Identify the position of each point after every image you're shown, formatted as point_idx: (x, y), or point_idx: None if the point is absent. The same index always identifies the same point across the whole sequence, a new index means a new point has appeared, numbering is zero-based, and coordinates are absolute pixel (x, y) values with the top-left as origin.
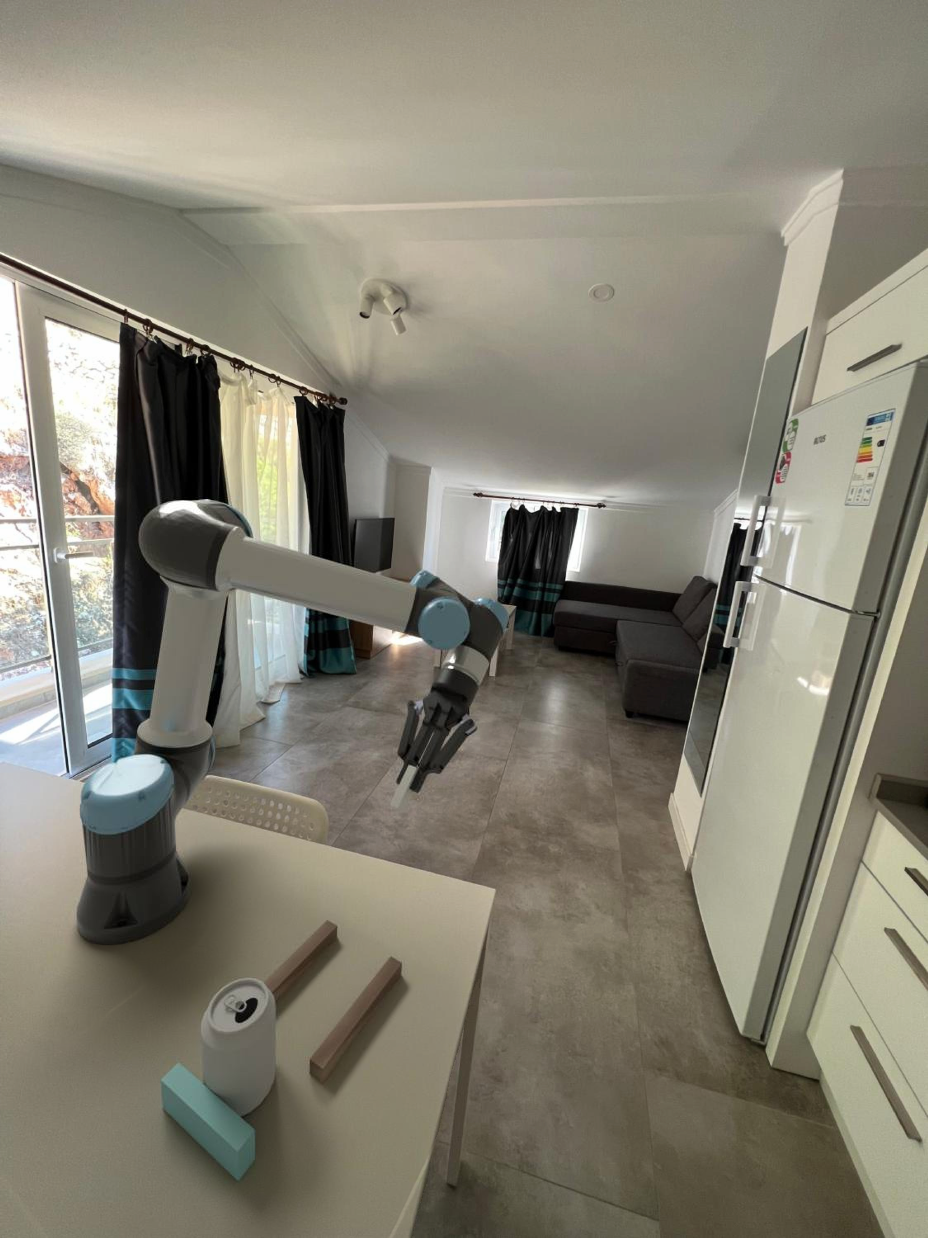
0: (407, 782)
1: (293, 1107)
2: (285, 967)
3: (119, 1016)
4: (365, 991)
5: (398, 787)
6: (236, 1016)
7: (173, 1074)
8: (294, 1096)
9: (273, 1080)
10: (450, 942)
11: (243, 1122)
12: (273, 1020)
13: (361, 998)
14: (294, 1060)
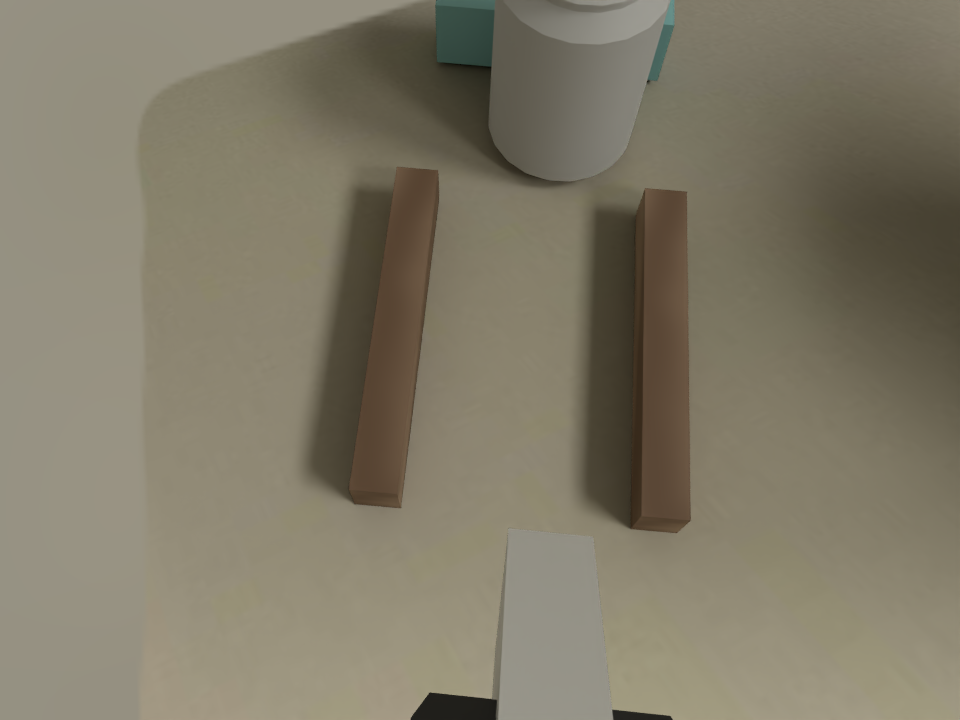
0: (526, 693)
1: (430, 146)
2: (671, 317)
3: (919, 126)
4: (407, 355)
5: (597, 640)
6: (637, 93)
7: None
8: (442, 160)
9: (494, 140)
10: (241, 716)
11: (464, 4)
12: (502, 11)
13: (407, 335)
14: (491, 208)
